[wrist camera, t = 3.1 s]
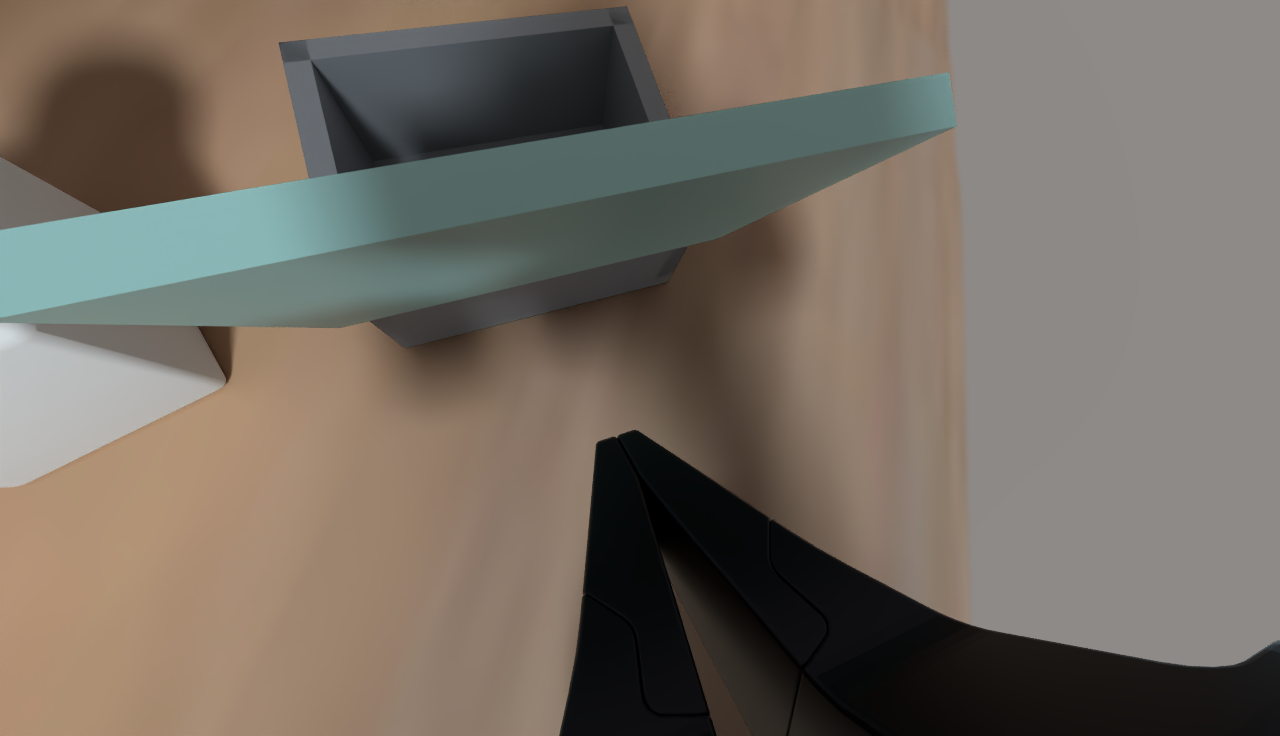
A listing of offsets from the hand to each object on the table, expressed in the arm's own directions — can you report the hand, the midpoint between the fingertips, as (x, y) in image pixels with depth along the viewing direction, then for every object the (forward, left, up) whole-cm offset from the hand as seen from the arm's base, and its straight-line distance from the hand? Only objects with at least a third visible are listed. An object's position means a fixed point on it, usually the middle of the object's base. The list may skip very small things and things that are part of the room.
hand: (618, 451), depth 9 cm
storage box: (+7, +9, -10) cm, 16 cm away
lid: (+3, +4, 0) cm, 5 cm away
